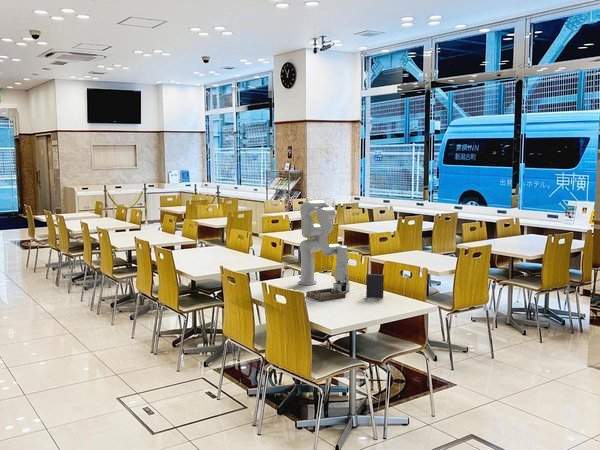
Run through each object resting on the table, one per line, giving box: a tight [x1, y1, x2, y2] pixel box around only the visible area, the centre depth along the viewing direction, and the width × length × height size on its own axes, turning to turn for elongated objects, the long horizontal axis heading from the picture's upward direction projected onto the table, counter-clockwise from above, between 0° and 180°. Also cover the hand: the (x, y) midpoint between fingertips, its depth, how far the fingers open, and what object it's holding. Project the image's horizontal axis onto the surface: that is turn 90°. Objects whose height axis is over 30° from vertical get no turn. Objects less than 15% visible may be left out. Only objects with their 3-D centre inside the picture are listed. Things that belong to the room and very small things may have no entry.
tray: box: [305, 287, 347, 302], centre depth 379 cm, size 16×20×4 cm
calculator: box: [365, 273, 385, 299], centre depth 379 cm, size 11×4×15 cm, turn 84°
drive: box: [332, 282, 351, 293], centre depth 393 cm, size 5×10×6 cm, turn 125°
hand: (341, 290), depth 393 cm, fingers closed on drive, 5 cm apart
